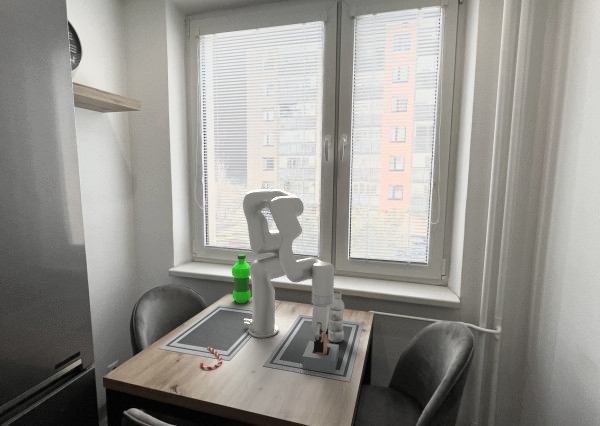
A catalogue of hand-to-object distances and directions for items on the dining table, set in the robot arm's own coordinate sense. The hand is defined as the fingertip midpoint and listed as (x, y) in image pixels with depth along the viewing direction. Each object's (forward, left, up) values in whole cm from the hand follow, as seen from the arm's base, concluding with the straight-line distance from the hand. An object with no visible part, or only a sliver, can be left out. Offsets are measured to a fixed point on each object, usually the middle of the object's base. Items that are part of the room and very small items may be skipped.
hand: (321, 344), depth 114 cm
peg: (0, 0, -6) cm, 6 cm away
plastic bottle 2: (+3, +17, -7) cm, 18 cm away
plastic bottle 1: (-51, +46, -7) cm, 69 cm away
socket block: (0, 0, -6) cm, 6 cm away
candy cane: (-39, -8, -7) cm, 40 cm away
